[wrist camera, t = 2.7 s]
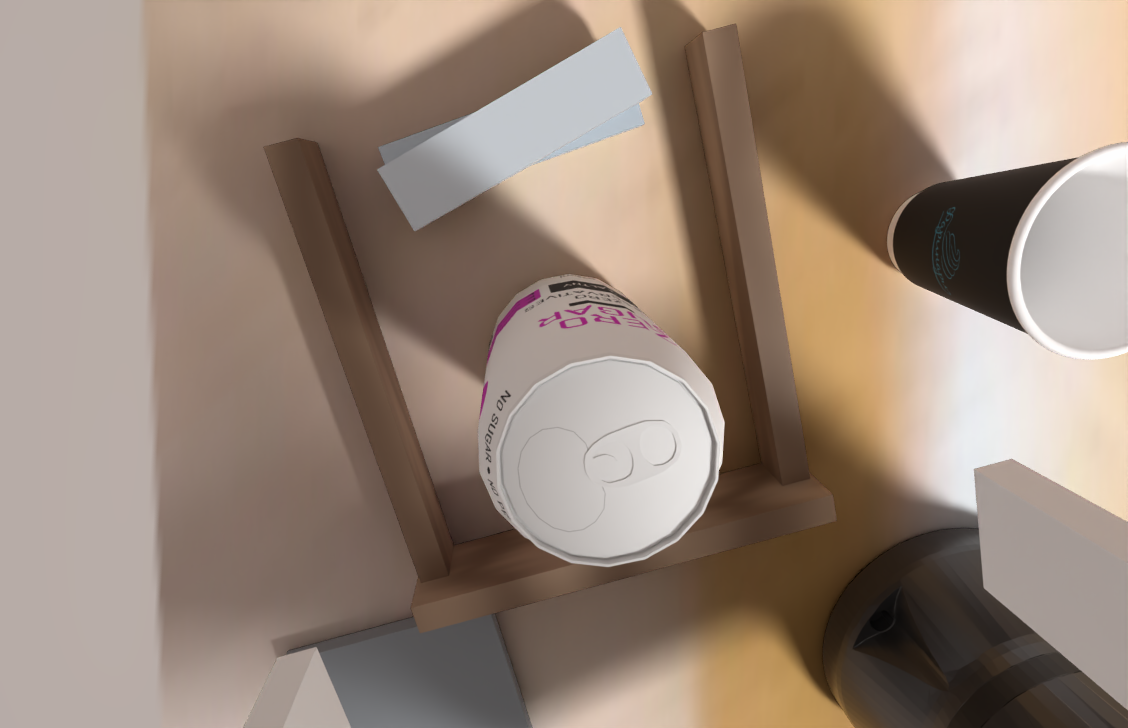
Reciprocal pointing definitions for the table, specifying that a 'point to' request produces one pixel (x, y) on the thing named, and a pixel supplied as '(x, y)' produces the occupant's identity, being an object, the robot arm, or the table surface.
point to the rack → (509, 560)
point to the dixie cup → (1029, 249)
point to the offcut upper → (516, 130)
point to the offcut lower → (608, 129)
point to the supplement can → (595, 425)
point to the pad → (425, 676)
